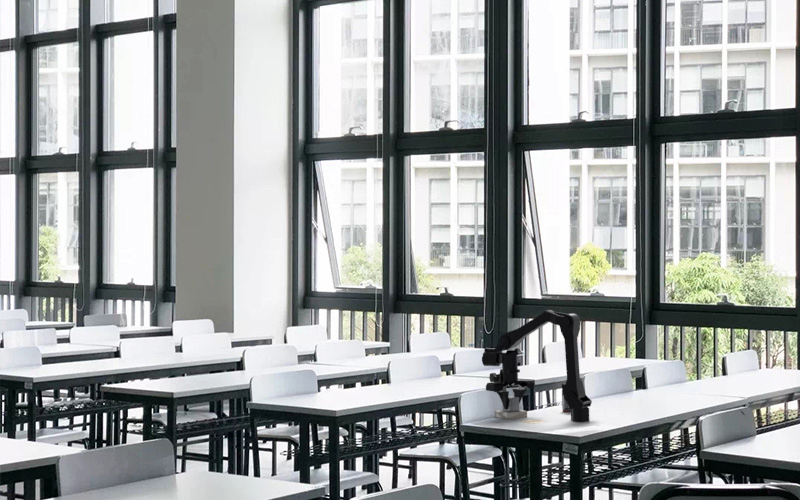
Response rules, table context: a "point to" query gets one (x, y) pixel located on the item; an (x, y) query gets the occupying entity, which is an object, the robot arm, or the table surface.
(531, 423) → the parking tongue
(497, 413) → the rack board
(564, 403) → the supplement bottle
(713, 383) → the table surface
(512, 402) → the grey angular block
